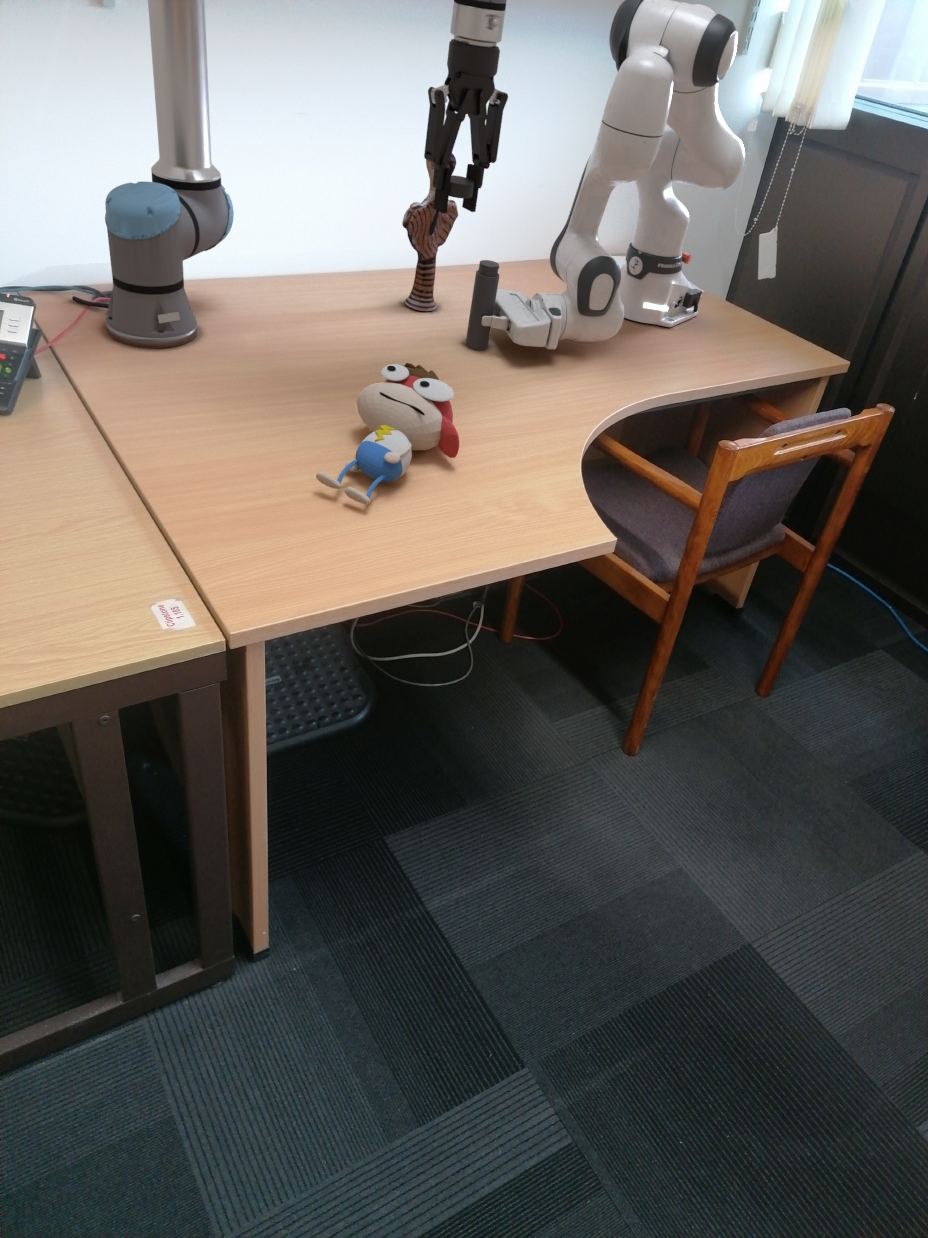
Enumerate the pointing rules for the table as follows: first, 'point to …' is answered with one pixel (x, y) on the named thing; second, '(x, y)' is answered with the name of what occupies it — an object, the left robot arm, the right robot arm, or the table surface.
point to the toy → (399, 425)
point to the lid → (461, 187)
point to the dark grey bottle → (482, 304)
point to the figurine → (427, 241)
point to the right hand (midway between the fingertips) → (477, 313)
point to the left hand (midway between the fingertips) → (454, 209)
